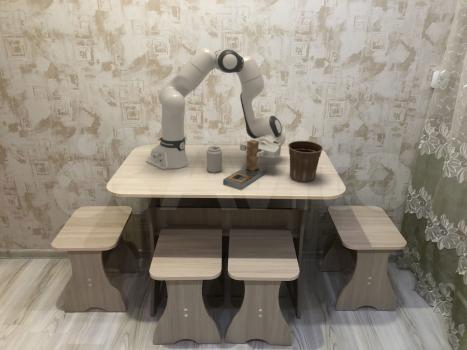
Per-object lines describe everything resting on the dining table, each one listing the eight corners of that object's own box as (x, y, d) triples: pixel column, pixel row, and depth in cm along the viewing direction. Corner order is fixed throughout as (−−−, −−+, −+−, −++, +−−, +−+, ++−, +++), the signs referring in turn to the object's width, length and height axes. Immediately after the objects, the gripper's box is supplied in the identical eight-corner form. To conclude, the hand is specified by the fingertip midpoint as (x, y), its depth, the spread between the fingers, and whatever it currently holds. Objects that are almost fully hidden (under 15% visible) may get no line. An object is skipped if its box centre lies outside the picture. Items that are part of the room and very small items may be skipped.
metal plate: (223, 184, 183) (223, 179, 182) (249, 168, 202) (250, 163, 201) (241, 189, 178) (241, 184, 177) (266, 172, 197) (267, 167, 196)
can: (223, 168, 201) (224, 146, 196) (218, 174, 194) (218, 151, 189) (210, 166, 203) (210, 144, 198) (204, 172, 196) (204, 149, 191)
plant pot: (324, 183, 186) (328, 151, 180) (291, 185, 184) (293, 153, 177) (312, 170, 201) (316, 140, 194) (282, 171, 199) (284, 141, 192)
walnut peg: (246, 168, 193) (247, 141, 187) (250, 166, 196) (251, 139, 190) (253, 170, 191) (254, 143, 185) (257, 168, 194) (258, 141, 188)
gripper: (248, 136, 204) (233, 143, 193) (283, 144, 194) (270, 152, 183) (247, 147, 207) (233, 155, 196) (282, 156, 197) (269, 164, 186)
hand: (251, 153), depth 190 cm, fingers closed on walnut peg, 4 cm apart
